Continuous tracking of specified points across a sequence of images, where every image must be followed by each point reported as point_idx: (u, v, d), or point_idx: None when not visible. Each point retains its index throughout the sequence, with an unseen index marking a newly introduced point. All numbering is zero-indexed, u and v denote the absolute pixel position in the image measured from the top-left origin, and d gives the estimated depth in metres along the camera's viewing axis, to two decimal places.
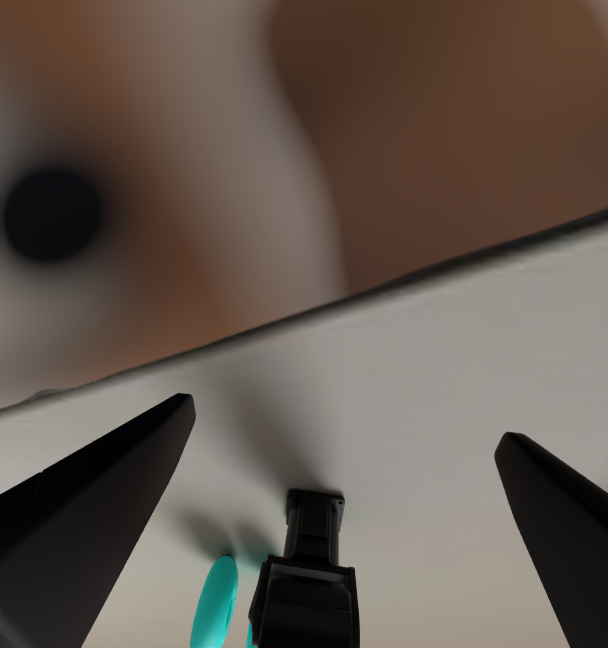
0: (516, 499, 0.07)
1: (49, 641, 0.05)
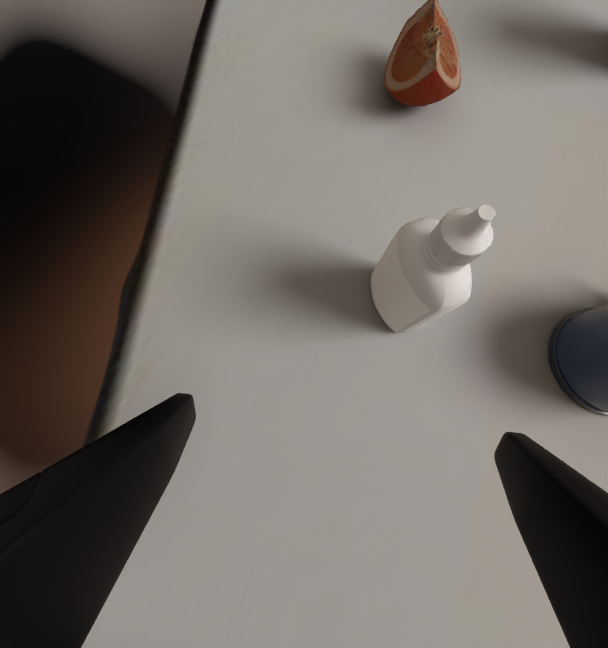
0: (516, 499, 0.07)
1: (49, 641, 0.05)
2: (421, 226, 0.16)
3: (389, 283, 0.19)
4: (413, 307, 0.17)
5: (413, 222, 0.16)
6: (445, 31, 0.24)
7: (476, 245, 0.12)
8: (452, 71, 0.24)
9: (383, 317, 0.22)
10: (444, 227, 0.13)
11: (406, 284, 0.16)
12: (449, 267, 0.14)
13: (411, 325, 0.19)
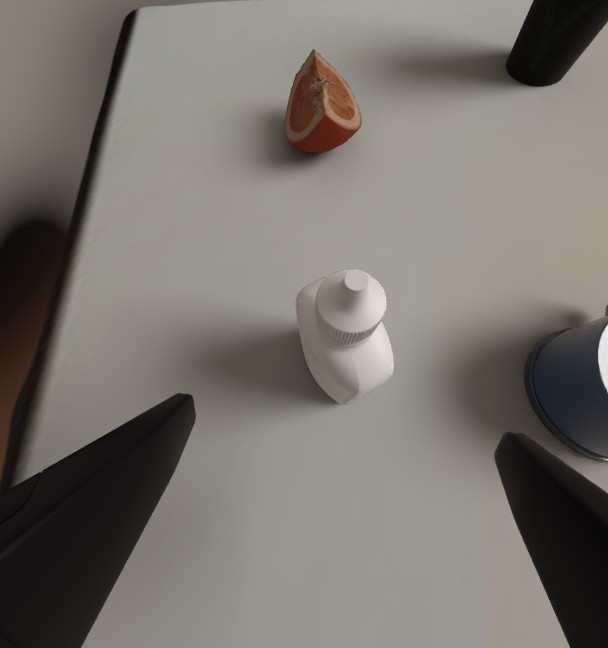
0: (516, 499, 0.07)
1: (49, 641, 0.05)
2: (315, 291, 0.13)
3: (307, 356, 0.15)
4: (335, 386, 0.14)
5: (308, 287, 0.13)
6: (333, 78, 0.24)
7: (363, 318, 0.09)
8: (348, 113, 0.23)
9: (322, 388, 0.18)
10: (320, 300, 0.10)
11: (316, 362, 0.13)
12: (349, 344, 0.11)
13: (347, 401, 0.15)
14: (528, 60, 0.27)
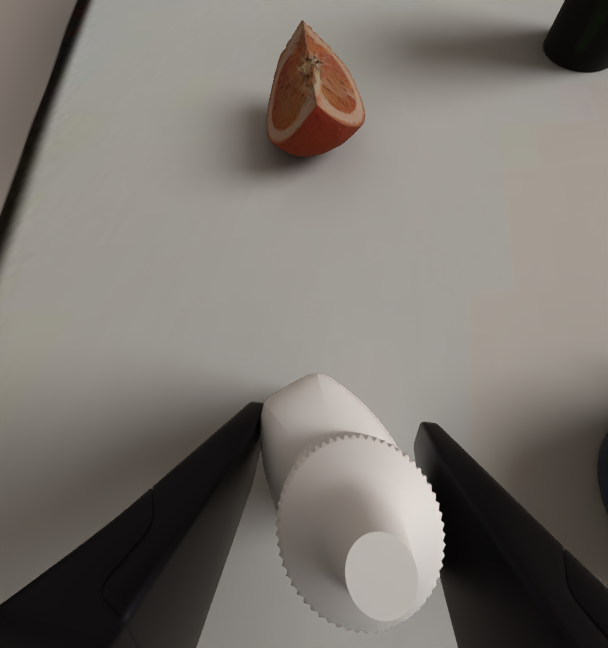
0: None
1: None
2: (290, 415, 0.07)
3: None
4: None
5: (279, 399, 0.07)
6: (328, 59, 0.18)
7: None
8: (348, 105, 0.18)
9: None
10: (286, 528, 0.04)
11: None
12: None
13: None
14: (576, 38, 0.21)
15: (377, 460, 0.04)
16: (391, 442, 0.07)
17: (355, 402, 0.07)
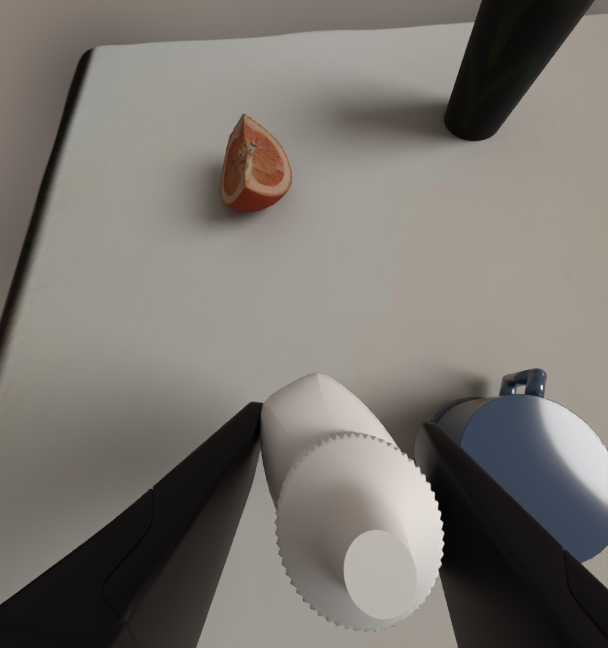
0: None
1: None
2: (290, 415, 0.07)
3: None
4: None
5: (279, 398, 0.07)
6: (263, 142, 0.25)
7: None
8: (275, 178, 0.24)
9: None
10: (285, 527, 0.04)
11: None
12: None
13: None
14: (460, 117, 0.27)
15: (376, 459, 0.04)
16: (390, 441, 0.07)
17: (354, 402, 0.07)
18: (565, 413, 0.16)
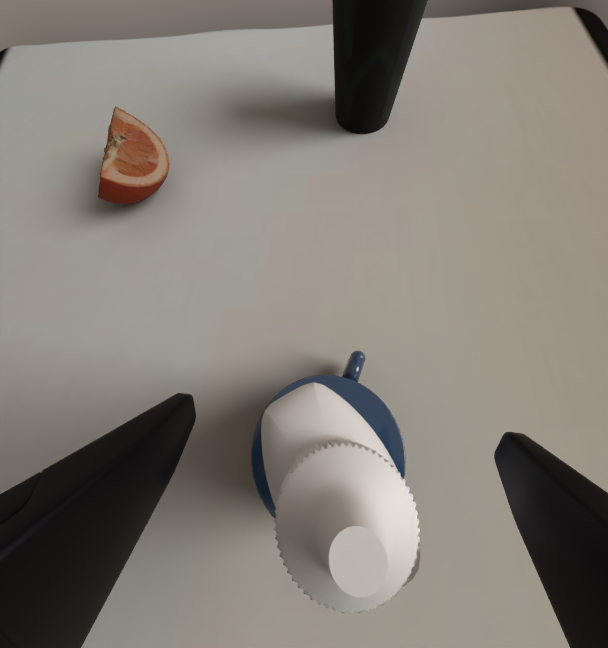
0: (516, 499, 0.07)
1: (49, 641, 0.05)
2: (289, 423, 0.08)
3: None
4: None
5: (279, 406, 0.08)
6: (135, 134, 0.25)
7: None
8: (145, 169, 0.24)
9: None
10: (283, 524, 0.05)
11: None
12: None
13: None
14: (342, 111, 0.28)
15: (362, 466, 0.05)
16: (381, 447, 0.07)
17: (348, 410, 0.08)
18: (365, 393, 0.16)
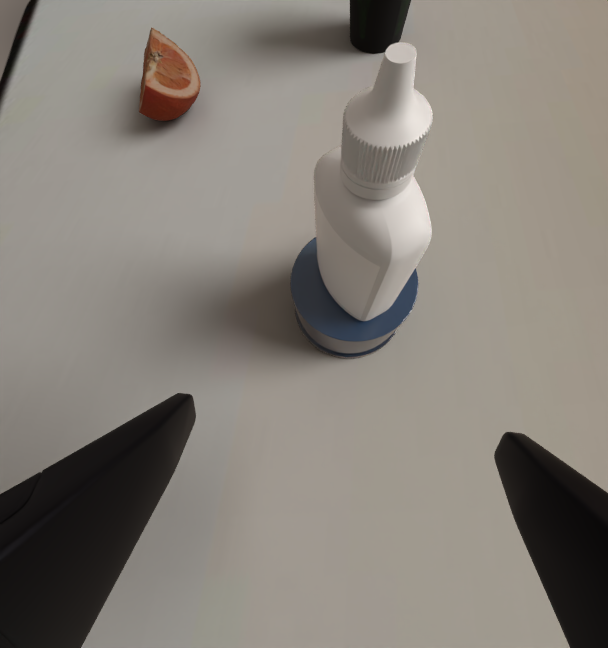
0: (516, 499, 0.07)
1: (49, 641, 0.05)
2: (337, 152, 0.11)
3: (326, 251, 0.13)
4: (360, 273, 0.12)
5: (328, 152, 0.11)
6: (170, 53, 0.27)
7: (405, 127, 0.07)
8: (180, 84, 0.27)
9: (341, 304, 0.17)
10: (349, 116, 0.08)
11: (339, 240, 0.11)
12: (382, 187, 0.09)
13: (371, 303, 0.14)
14: (357, 29, 0.30)
15: None
16: None
17: None
18: None
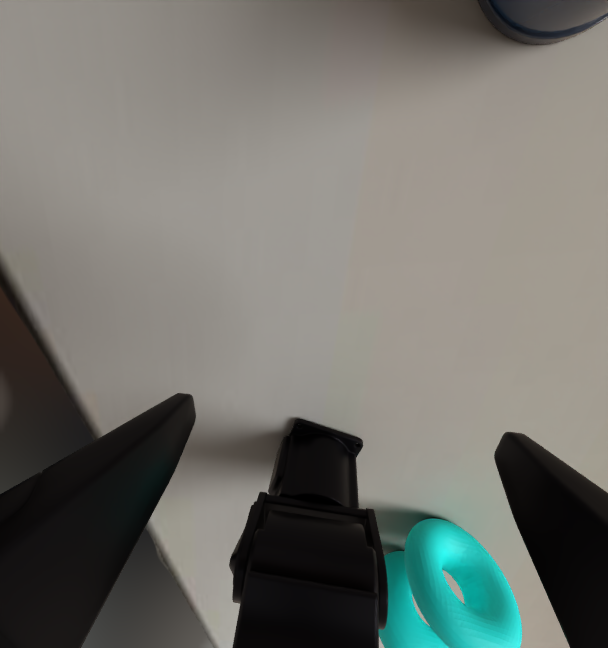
0: (516, 499, 0.07)
1: (49, 641, 0.05)
2: None
3: None
4: None
5: None
6: None
7: None
8: None
9: None
10: None
11: None
12: None
13: None
14: None
15: None
16: None
17: None
18: None
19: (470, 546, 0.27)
